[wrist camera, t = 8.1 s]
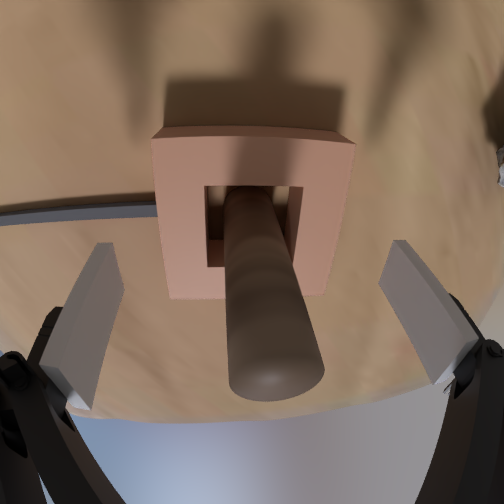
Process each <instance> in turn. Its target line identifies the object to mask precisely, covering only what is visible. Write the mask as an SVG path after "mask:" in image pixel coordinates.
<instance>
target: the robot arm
mask: <svg viewBox="0 0 504 504" xmlns="http://www.w3.org/2000/svg"><path fill="white" fill-rule="evenodd" d="M378 284H379V285H380V287H381V289H382V290H383V292H384V294H385V295H386V297H387V299H388V301H389V302H390V304H391V306H392V308H393V309H394V311H395V313H396V315H397V316H398V318H399V320H400V322H401V324H402V325H403V327H404V329H405V331H406V333H407V335H408V337H409V338H410V340H411V342H412V344H413V346H414V348H415V350H416V352H417V354H418V356H419V358H420V360H421V362H422V364H423V366H424V368H425V370H426V372H427V374H428V376H429V378H430V380H431V382H432V384H433V385H435V384H438V383H440V382H444V381H446V380H447V379H448V377H449V376H450V375H451V374H452V373H454V375H455V379H453V381H452V382H451V383H450V384H449V385H448V386H447V387H446V388H445V390H444V392H443V393H444V394H445V393H446V392H447V391H448V390H449V389H450V388H451V390H450V392H449V394H448V395H449V399H448V404H447V408H446V412H445V417H444V420H443V424H442V428H441V432H440V435H439V439H438V442H437V445H436V449H435V452H434V455H433V458H432V461H431V464H430V467H429V469H428V472H427V475H426V477H425V480H424V483H423V485H422V488H421V490H420V492H419V495H418V497H417V500H416V502H415V504H504V349H502V347H501V346H500V345H499V344H498V343H497V342H495V341H494V340H491V339H488V340H485V338H484V337H483V335H482V334H481V332H480V331H479V329H478V328H477V326H476V325H475V323H474V322H473V320H472V319H471V317H469V315H468V313H467V312H466V310H464V307H463V306H462V305H461V303H460V302H459V301H458V300H457V299H456V298H455V297H454V296H453V295H451V294H450V293H447V291H446V290H445V288H444V287H443V286H442V285H441V283H440V282H439V281H438V279H437V278H436V277H435V275H434V274H433V273H432V272H431V270H430V269H429V268H428V267H427V265H426V264H425V263H424V262H423V260H422V259H421V258H420V257H419V255H418V254H417V253H416V252H415V251H414V249H413V248H412V247H411V246H410V245H409V244H408V242H407V241H406V240H393V243H392V246H391V249H390V252H389V255H388V258H387V261H386V264H385V267H384V270H383V272H382V275H381V278H380V281H379V283H378ZM124 290H125V289H124V286H123V282H122V278H121V275H120V271H119V267H118V263H117V259H116V255H115V251H114V247H113V243H97V245H96V246H95V248H94V250H93V252H92V253H91V255H90V257H89V259H88V260H87V262H86V264H85V266H84V268H83V270H82V271H81V273H80V275H79V277H78V279H77V281H76V283H75V285H74V287H73V289H72V291H71V293H70V295H69V297H68V299H67V301H66V303H65V305H64V307H55V308H54V309H53V310H52V311H51V312H50V313H49V314H48V315H47V316H46V318H45V321H44V323H43V325H42V328H41V329H40V331H39V333H38V336H37V338H36V340H35V342H34V345H33V347H32V349H31V351H30V354H29V356H28V359H27V361H26V360H25V358H24V357H23V356H22V354H20V353H19V352H17V351H10V352H7V353H5V354H4V355H2V356H1V357H0V504H47V502H46V498H45V495H44V492H43V489H42V485H41V481H40V478H39V475H40V477H41V479H42V481H43V483H44V485H45V487H46V489H47V491H48V493H49V495H50V496H51V498H52V500H53V502H54V503H55V504H126V503H125V502H124V500H123V499H122V498H121V496H120V495H119V494H118V492H117V491H116V490H115V489H114V487H113V486H112V484H111V483H110V481H109V480H108V478H107V477H106V476H105V474H104V473H103V471H102V470H101V468H100V467H99V465H98V463H97V462H96V460H95V459H94V457H93V455H92V454H91V452H90V451H89V449H88V447H87V445H86V444H85V442H84V440H83V439H82V437H81V435H80V433H79V431H78V430H77V428H76V426H75V424H74V422H73V420H72V418H71V416H70V414H69V412H68V411H67V409H66V408H65V406H66V402H67V400H68V401H69V403H70V404H71V405H72V406H73V407H75V408H80V409H86V410H91V409H92V405H93V400H94V396H95V391H96V387H97V383H98V379H99V375H100V371H101V367H102V363H103V359H104V355H105V352H106V348H107V345H108V341H109V338H110V334H111V331H112V328H113V324H114V321H115V318H116V315H117V312H118V308H119V305H120V302H121V299H122V296H123V293H124ZM38 473H39V474H38Z"/></svg>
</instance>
